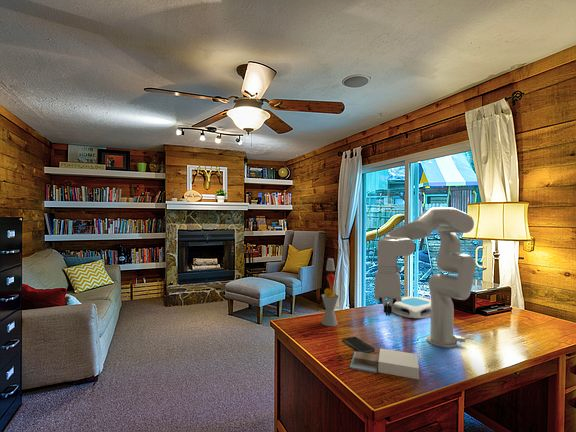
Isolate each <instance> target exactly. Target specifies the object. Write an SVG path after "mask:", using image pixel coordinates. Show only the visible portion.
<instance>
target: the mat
mask: <svg viewBox="0 0 576 432" xmlns="http://www.w3.org/2000/svg"><path fill="white" fill-rule="evenodd" d="M356 352H357V351H353V355H352V359H351V362H350V365H349V369H352V370H358V371H363V372H367V373H368V372H369V373H373V374H377V373H378V367H375V366H370V365H364V364H359V363H354V357H355V354H356Z"/></svg>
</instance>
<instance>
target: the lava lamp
mask: <svg viewBox="0 0 576 432" xmlns="http://www.w3.org/2000/svg"><path fill="white" fill-rule="evenodd" d="M325 270H326V271H329V272H334V271H336V268H335V262H334V258H330V257H329V258H327V261H326V268H325ZM335 277H336V276H335V275H334V274H333V273H329V274H327V275H326V280H327V282H328V284H329V288H327V287H326V288H325V289H324V291H323V292H324V293H323V294H321V299H322V301H323V305H324V307H325V310H324V311H325V312H324V314H323V317H322V320H321V325H323V326H327V327H335V326H337V325H338V320H337V317H336V313H335V307H336V305H337V302H338V298H339V295H338V294H335V292H334V283H335Z"/></svg>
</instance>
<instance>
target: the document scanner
mask: <svg viewBox="0 0 576 432" xmlns="http://www.w3.org/2000/svg"><path fill="white" fill-rule="evenodd" d="M401 298H402V301H399V302H395V303H394V304H393V305H392V314H395V315H398V316H401V317H404V318H410V319H426V318H429V317H430V318H431V298H426V297H422V296H403V297H402V296H401ZM386 302H387V304H388V303H389V301H386ZM403 310H408V312H406V311H403ZM423 311H426V312H423ZM422 312H423V313H422Z"/></svg>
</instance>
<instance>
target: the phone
mask: <svg viewBox="0 0 576 432" xmlns="http://www.w3.org/2000/svg"><path fill="white" fill-rule="evenodd" d="M342 342H343V343H345V344H346V345H347V346H349V347H350V348H352V349H353V350H354V351H355V352H357V351H358V352H364V353H374V352H375V347H373V346H371V345H370V344H368V343H366V342H365V341H363V339H360V338H359V337H357V336H350V337H343V338H342Z"/></svg>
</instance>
